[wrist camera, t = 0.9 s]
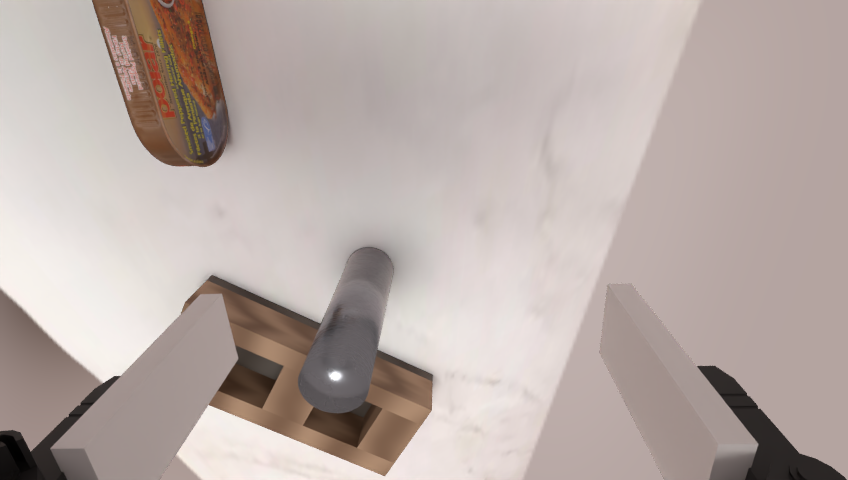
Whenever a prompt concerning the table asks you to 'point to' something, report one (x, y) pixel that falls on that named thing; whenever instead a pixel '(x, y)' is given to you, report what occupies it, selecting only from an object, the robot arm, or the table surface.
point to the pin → (348, 335)
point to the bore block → (280, 396)
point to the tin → (167, 77)
